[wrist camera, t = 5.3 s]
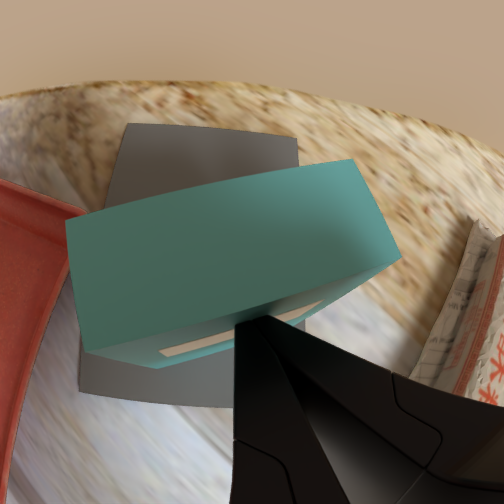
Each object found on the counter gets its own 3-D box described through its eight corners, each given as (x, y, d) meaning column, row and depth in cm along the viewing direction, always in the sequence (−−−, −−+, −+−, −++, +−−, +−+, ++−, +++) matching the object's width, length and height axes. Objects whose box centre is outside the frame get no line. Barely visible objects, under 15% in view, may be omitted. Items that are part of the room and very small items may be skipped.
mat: (302, 406, 15) (304, 407, 14) (81, 391, 13) (78, 391, 13) (295, 142, 21) (296, 138, 20) (128, 127, 19) (128, 123, 19)
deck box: (286, 330, 16) (402, 258, 6) (157, 369, 14) (84, 353, 5) (268, 281, 16) (352, 158, 7) (142, 316, 15) (65, 219, 6)
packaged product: (502, 502, 10) (416, 449, 11) (454, 490, 14) (365, 435, 15) (568, 279, 16) (508, 195, 17) (530, 295, 21) (468, 223, 22)
